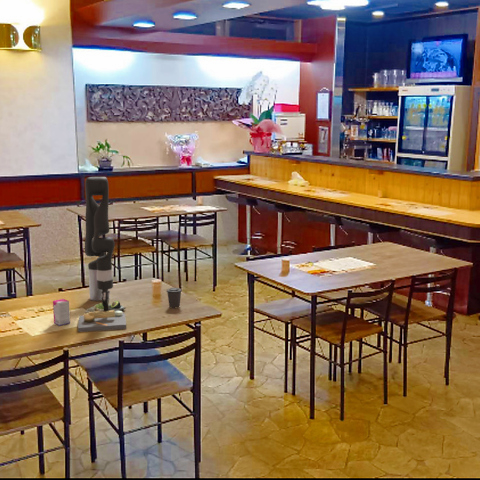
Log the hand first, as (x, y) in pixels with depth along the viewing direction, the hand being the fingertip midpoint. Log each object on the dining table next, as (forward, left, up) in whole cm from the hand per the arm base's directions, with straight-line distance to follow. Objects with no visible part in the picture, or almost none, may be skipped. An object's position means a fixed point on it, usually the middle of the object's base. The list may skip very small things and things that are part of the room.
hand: (106, 312), depth 299 cm
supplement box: (-1, -21, -4) cm, 21 cm away
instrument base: (+4, -2, -4) cm, 6 cm away
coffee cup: (-16, +35, -4) cm, 39 cm away
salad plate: (-17, 0, -5) cm, 18 cm away
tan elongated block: (+4, -3, -2) cm, 6 cm away
